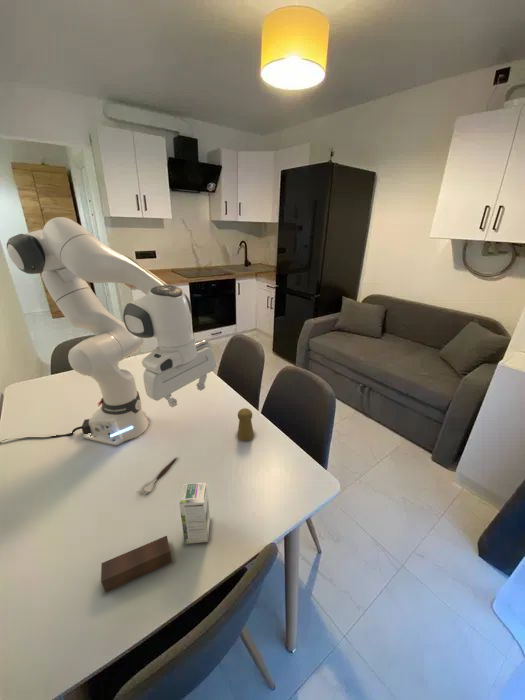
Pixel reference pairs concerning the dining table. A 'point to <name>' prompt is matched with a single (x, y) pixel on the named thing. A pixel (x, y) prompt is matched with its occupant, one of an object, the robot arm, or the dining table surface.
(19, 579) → the dining table surface
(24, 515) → the dining table surface
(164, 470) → the fork
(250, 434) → the olive brown hourglass shape
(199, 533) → the syrup box
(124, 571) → the walnut block
